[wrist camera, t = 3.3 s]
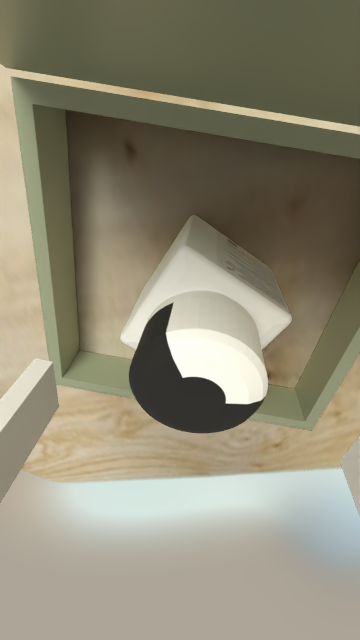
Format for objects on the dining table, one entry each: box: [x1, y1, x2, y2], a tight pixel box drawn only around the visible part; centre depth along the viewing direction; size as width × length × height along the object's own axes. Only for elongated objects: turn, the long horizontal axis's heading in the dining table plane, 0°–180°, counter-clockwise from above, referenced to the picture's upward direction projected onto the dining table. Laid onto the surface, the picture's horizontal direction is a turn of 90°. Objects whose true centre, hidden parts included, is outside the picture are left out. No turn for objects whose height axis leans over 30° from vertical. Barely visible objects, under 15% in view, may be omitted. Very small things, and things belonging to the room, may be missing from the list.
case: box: [11, 77, 360, 431], centre depth 17 cm, size 25×25×15 cm
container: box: [120, 215, 292, 433], centre depth 19 cm, size 8×8×13 cm
